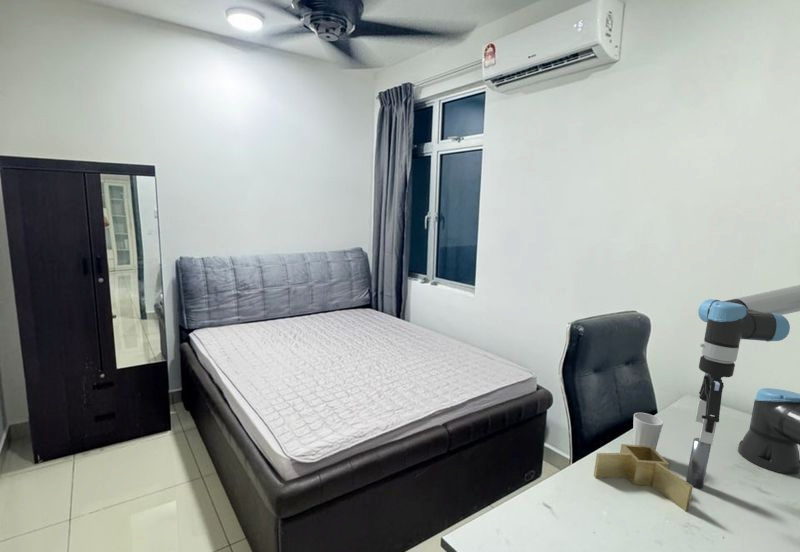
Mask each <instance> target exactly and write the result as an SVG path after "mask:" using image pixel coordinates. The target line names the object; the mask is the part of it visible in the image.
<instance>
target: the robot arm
mask: <svg viewBox="0 0 800 552" xmlns="http://www.w3.org/2000/svg"><path fill="white" fill-rule="evenodd" d="M798 312H800V284H797V285H793V286H789V287H784V288H779V289H773V290H770V291H765V292H761V293H756V294H752V295H747V296H742V297H736V298H734V299H733V298H732V299H728V300H719V299H711V298H709V299H706V300H704V301H703V302H702V303H700V305H699V307H698V311H697V313H698V317H699V318H700V320H702V321H703V322H705V323H706V328H705V334H704V338H703V343H700V347H701V348H702V350H701V356H700V359H699V363H698V369H699V370H700V371H701V372H702V373H704V376H703V378H702V379H703V380H702V384H701V386H700V390H699V391H698V393H699V397H698V398H699V400H698V403H697V408H696V415H695V422H697V423H699V424H702V425H701V430H700V435H699V438H700V439H699V441H701V442H704V443H708V444H711V445H713V442H714V437H715V432H716V429H717V423H719V422H720V414H721V406H722V405H721V403H722V396H723V389H724V382H723V379H722V378H731V377H733V376H734V373H735V367H736V363H735V362H736V361H737V358H738V353H739V349H740V345H741V344H740V343H741V340H748V341H749V340H751V341H763V342H780V341H783V340H784V339H786V338H787V337H788V335H789V334H790V329H791V326H790V325H791V324H790V322H789V320H788V319H787V317H785V316H784V315H788V314H792V313H798ZM799 446H800V393H798V392H794V391H790V390H785V389H778V388H770V387H769V388H768V387H765V388H764V387H763V388H760V389H759V390H758V391H757V392H756V396H755V398H754V402H753V408H752V412H751V420H750V425H749V429H748V430H747V432H746V433H745V435H744V437H743V439H742V440H740V441H739V443H738V446H737V451H738V452H737V453H739V455H741V456H742V457H743V458H744V459H746V460H747V461H749V462H750V463H753V464H755V465H757V466H758V467H760V468H764V469H767V470H770V471H773V472H777V473H779V474H780V473H781V474H789V475H794V474H795V475H796V474H799V473H800V451H799Z"/></svg>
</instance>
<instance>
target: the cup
mask: <svg viewBox="0 0 800 552" xmlns="http://www.w3.org/2000/svg"><path fill="white" fill-rule="evenodd" d="M632 424H633V426H632V427H633V429H632V441H631V443H632V444H631V445H640V446H651V447H653V448H654V449H655V450H656V449H657V446H658V444H659V439H660V435H661V433H662V428H663V426H664V421H663V420H662V419H660V418H659V417H658V416H656V415H653V414H650V413H645V412H635V413H634V414H633V423H632ZM656 451H657V450H656Z"/></svg>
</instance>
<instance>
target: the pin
mask: <svg viewBox="0 0 800 552" xmlns="http://www.w3.org/2000/svg"><path fill="white" fill-rule="evenodd" d="M699 439H700V437H694V438H693V441H692V446H691V453H690V455H689V456H690V457H689V461H688V462H689V463H688V467H687V474H686V478H685V481H686V482H688V483H689V484H691V485H692V486H693V488H695V489H698V490H701V489H703V488H704V483H705V478H706V474H707V469H708V468H707V467H708V465H709V464H708V463H709V458H710V453H711V448H712V447H711V446H712V444H708V443H704V442H701V441H699Z"/></svg>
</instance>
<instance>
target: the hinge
mask: <svg viewBox="0 0 800 552" xmlns="http://www.w3.org/2000/svg"><path fill="white" fill-rule="evenodd" d="M669 468H670V463H669V462H668V461H667V460H666V459H665V458H664V457H663V456H662V455H661V454H660V453H659V452H658V451H657V450H655V449H654V448H653V447H651V446H640V445H632V444H624V443H623V444H621V445H620V451H619V452H601V453H600V452H599V453H596V456H595V464H594V471H593V477H594V478H595V479H607V478H606V477H615V478H627V479H628V480H629V481H630V482H631V483H632V484H633V485H634V486H648V487H651V488H653V489H654V490H656V491H657V492H658V493H660V494H662V496H664V497H665V498H667V499H669V500H670V501H671V502H672V503H673V504H675V505H676V506H677V507H679V508H680V509H682V510H683V511H684V512H687V511H689V509H690V503H691V500H692V494H693V488H694V487H693V486H692V485H691V484H689V483H688V482H686V479H683V478H682V477H680V476H679V475H677V474H676V473H675V472H673V471H671V470H670V469H669ZM603 477H604V478H603Z"/></svg>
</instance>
